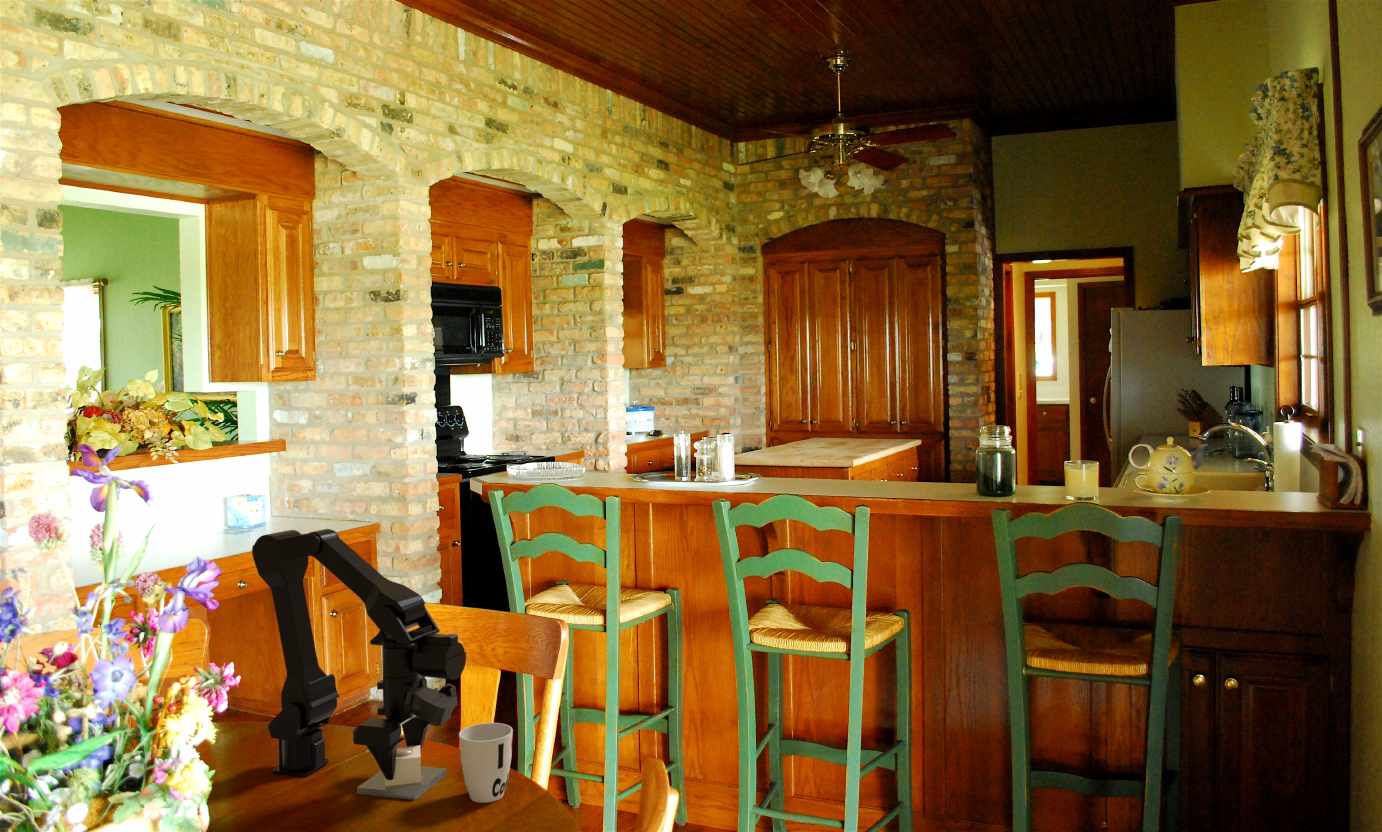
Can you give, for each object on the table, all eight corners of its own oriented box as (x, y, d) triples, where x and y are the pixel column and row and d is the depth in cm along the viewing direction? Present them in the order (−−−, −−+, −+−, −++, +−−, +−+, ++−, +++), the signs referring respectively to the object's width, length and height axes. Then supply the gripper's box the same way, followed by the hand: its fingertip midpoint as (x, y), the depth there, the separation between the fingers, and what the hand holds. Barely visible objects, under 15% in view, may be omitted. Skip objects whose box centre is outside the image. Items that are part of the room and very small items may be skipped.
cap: (385, 786, 152) (384, 758, 152) (385, 773, 158) (385, 746, 158) (420, 782, 154) (420, 754, 154) (420, 769, 159) (420, 742, 159)
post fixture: (357, 793, 152) (356, 768, 152) (391, 769, 162) (391, 745, 162) (415, 799, 150) (414, 774, 150) (446, 774, 159) (446, 750, 159)
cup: (501, 808, 146) (500, 742, 146) (450, 804, 148) (449, 739, 148) (521, 787, 154) (520, 724, 154) (473, 783, 156) (472, 721, 156)
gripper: (417, 694, 144) (418, 799, 145) (474, 660, 162) (475, 753, 163) (350, 689, 147) (351, 792, 147) (413, 656, 165) (415, 747, 166)
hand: (402, 770), depth 156 cm, fingers closed on cap, 7 cm apart
